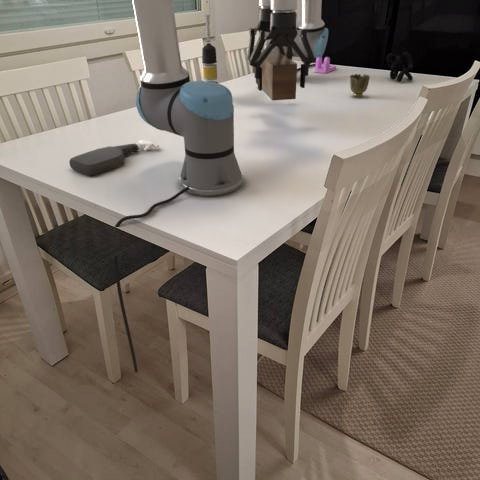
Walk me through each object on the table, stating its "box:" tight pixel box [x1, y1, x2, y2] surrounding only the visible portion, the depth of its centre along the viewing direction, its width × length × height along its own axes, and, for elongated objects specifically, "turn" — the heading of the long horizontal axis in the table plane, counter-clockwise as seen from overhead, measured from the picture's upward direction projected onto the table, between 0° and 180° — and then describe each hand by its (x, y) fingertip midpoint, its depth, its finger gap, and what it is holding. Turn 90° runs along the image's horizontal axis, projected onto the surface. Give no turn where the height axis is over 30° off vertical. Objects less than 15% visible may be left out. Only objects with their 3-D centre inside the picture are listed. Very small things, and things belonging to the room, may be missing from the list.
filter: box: [201, 14, 219, 84], centre depth 171 cm, size 6×6×30 cm
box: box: [256, 51, 298, 102], centre depth 143 cm, size 23×7×10 cm, turn 10°
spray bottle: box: [68, 139, 160, 177], centre depth 124 cm, size 3×11×24 cm
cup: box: [349, 73, 371, 98], centre depth 175 cm, size 8×7×8 cm
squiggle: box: [385, 51, 414, 83], centre depth 198 cm, size 11×10×15 cm
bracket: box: [314, 56, 337, 74], centre depth 219 cm, size 13×6×7 cm, turn 143°
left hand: (281, 88), depth 138 cm, fingers open, 13 cm apart
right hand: (269, 82), depth 152 cm, fingers closed on box, 7 cm apart
